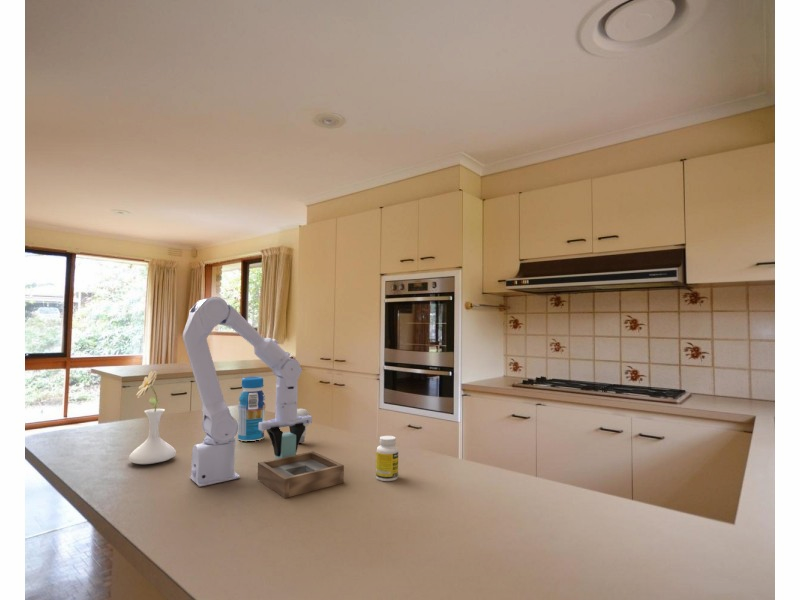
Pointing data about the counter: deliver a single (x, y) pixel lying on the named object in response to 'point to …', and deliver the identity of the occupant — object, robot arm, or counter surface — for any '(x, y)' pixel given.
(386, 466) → the supplement bottle
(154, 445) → the flower in vase
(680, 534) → the counter surface
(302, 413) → the lightbulb
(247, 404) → the beverage bottle
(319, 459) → the bore box
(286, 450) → the peg
